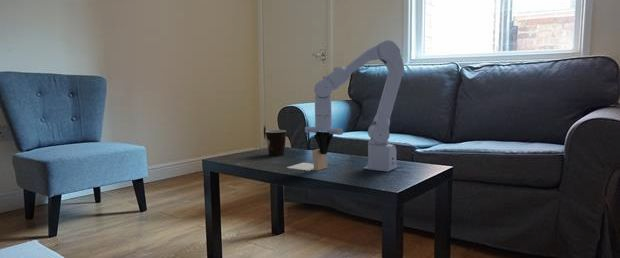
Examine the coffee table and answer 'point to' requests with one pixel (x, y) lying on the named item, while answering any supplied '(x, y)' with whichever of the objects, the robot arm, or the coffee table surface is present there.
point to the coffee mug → (276, 142)
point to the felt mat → (302, 166)
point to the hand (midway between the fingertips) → (323, 153)
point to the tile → (319, 160)
